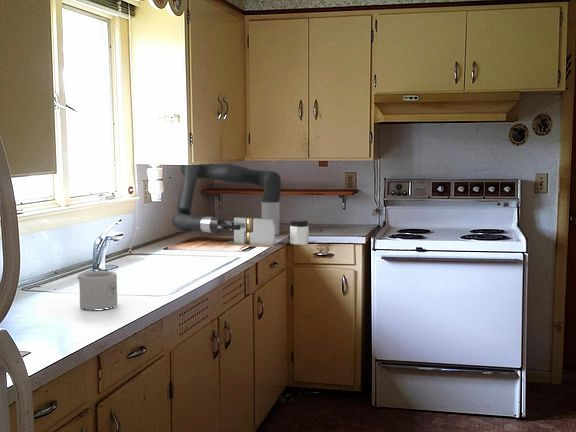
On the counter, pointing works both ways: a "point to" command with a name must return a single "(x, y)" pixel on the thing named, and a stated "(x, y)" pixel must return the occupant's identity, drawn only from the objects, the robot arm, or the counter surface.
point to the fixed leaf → (262, 232)
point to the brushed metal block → (242, 229)
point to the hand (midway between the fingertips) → (243, 226)
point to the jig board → (248, 244)
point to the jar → (299, 231)
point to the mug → (98, 290)
